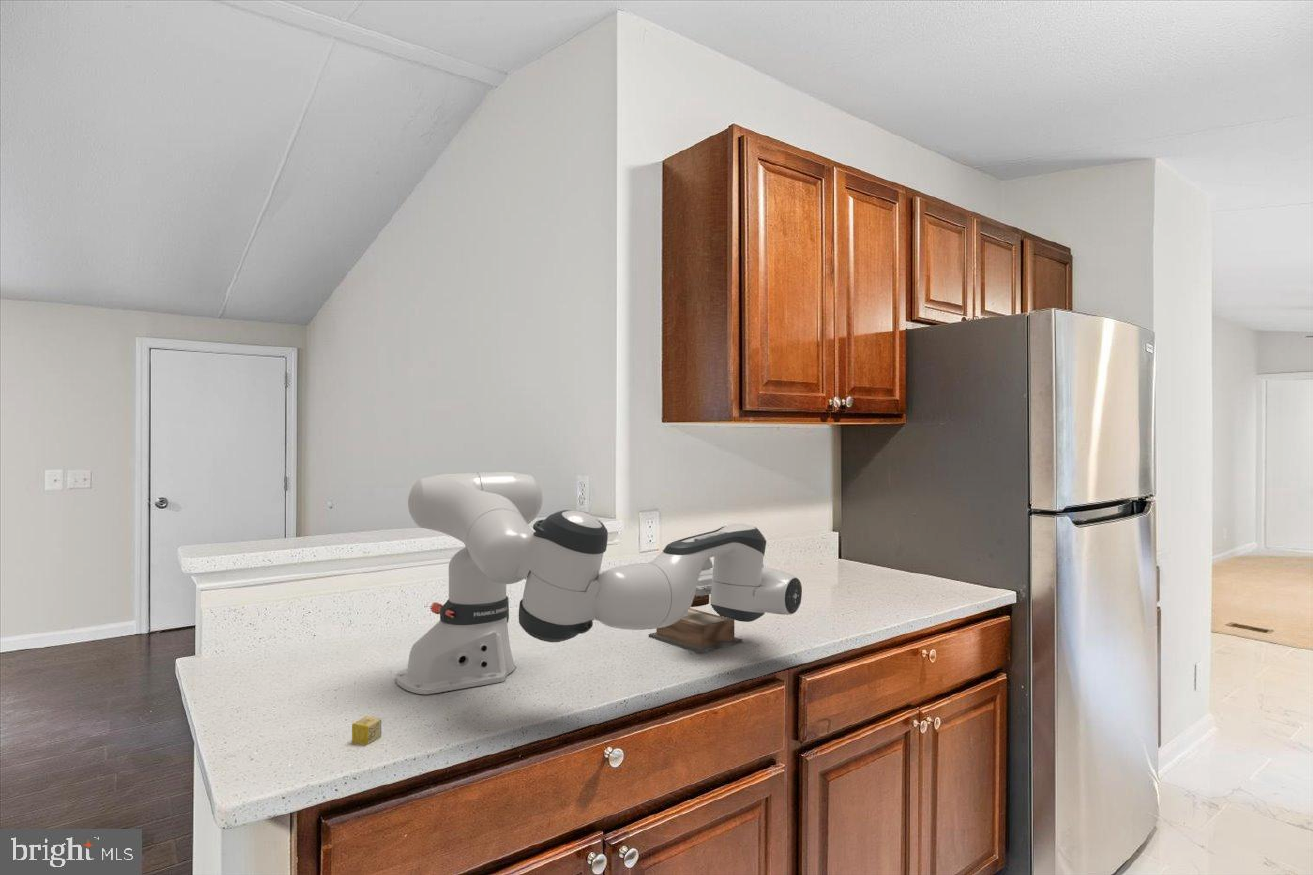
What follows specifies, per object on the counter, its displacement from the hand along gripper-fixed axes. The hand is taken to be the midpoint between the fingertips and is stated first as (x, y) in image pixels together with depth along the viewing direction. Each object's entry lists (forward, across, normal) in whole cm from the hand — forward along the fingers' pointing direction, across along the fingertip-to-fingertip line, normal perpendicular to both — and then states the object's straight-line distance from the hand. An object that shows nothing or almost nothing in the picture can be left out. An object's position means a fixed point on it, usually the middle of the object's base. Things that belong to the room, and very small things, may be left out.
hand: (692, 574), depth 168 cm
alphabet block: (-8, -75, -15) cm, 77 cm away
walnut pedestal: (-1, 0, -15) cm, 15 cm away
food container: (-2, 0, -7) cm, 7 cm away
